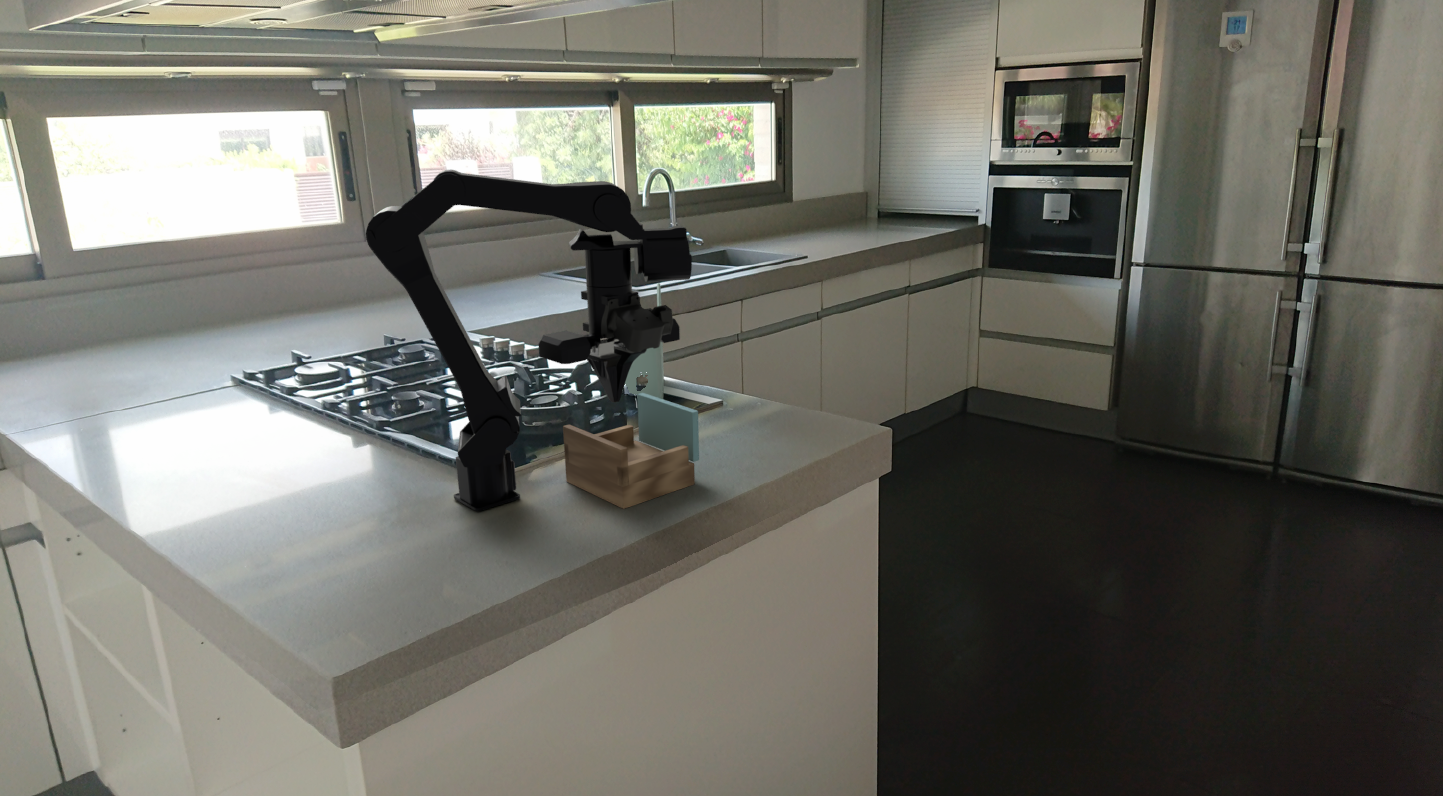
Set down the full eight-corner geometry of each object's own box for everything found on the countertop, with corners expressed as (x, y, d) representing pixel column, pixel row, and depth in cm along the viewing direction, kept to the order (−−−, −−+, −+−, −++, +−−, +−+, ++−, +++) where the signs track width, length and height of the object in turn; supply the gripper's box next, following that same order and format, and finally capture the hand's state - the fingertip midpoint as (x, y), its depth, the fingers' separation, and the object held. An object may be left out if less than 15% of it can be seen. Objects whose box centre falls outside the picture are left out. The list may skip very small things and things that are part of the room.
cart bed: (623, 508, 121) (620, 449, 119) (566, 481, 130) (562, 426, 128) (694, 484, 129) (693, 428, 127) (636, 459, 138) (633, 407, 136)
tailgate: (693, 461, 129) (692, 412, 126) (639, 440, 137) (637, 394, 135) (703, 458, 130) (702, 409, 128) (648, 437, 138) (647, 391, 136)
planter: (621, 380, 179) (617, 275, 173) (663, 379, 179) (660, 275, 174) (616, 406, 163) (611, 292, 158) (663, 405, 164) (659, 291, 158)
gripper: (584, 303, 109) (591, 432, 113) (706, 282, 121) (708, 399, 125) (532, 290, 116) (540, 411, 121) (651, 272, 128) (655, 383, 133)
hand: (614, 401), depth 125 cm, fingers closed
